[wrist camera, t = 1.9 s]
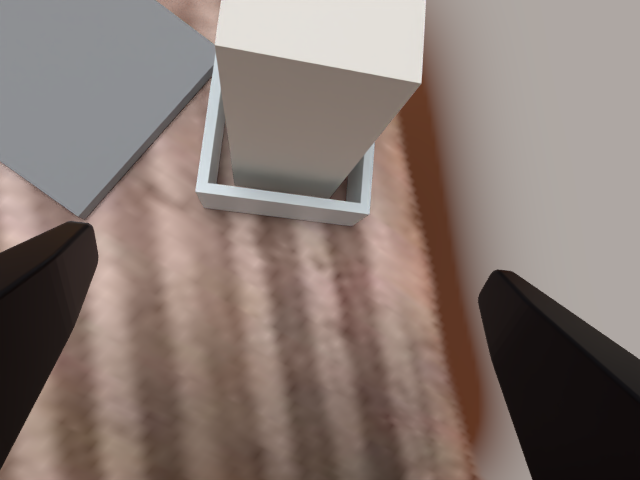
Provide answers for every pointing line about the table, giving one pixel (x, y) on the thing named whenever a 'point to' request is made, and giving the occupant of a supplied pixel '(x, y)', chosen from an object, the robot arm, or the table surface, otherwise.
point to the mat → (91, 89)
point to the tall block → (313, 85)
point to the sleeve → (268, 200)
